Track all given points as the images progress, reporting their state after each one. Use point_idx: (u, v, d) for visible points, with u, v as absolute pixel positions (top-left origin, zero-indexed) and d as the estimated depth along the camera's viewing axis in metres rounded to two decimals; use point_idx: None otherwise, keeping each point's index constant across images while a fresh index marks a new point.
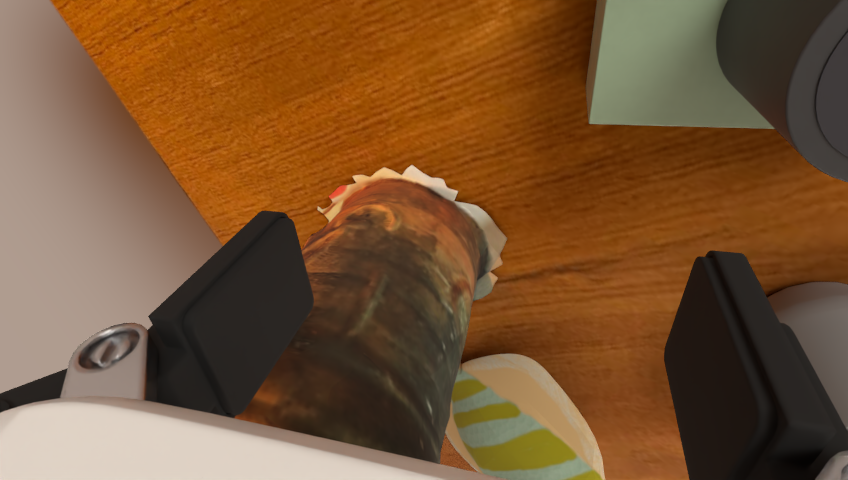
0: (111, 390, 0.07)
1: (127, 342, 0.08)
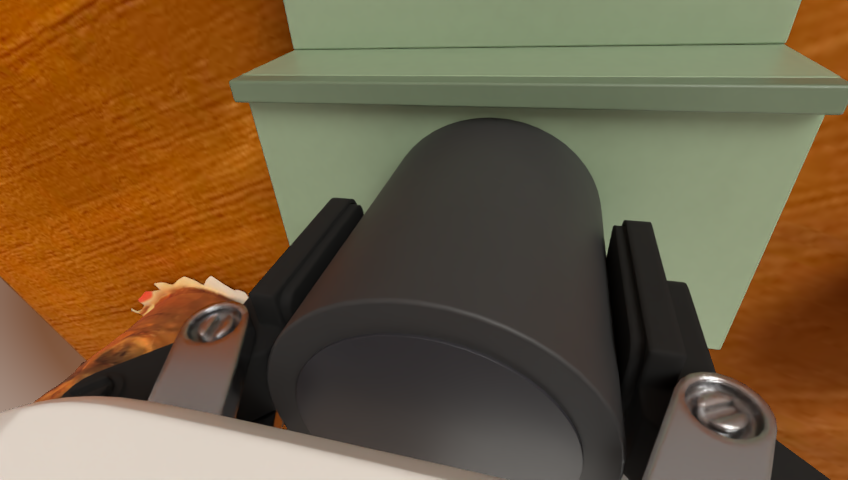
0: (205, 368, 0.07)
1: (230, 321, 0.08)
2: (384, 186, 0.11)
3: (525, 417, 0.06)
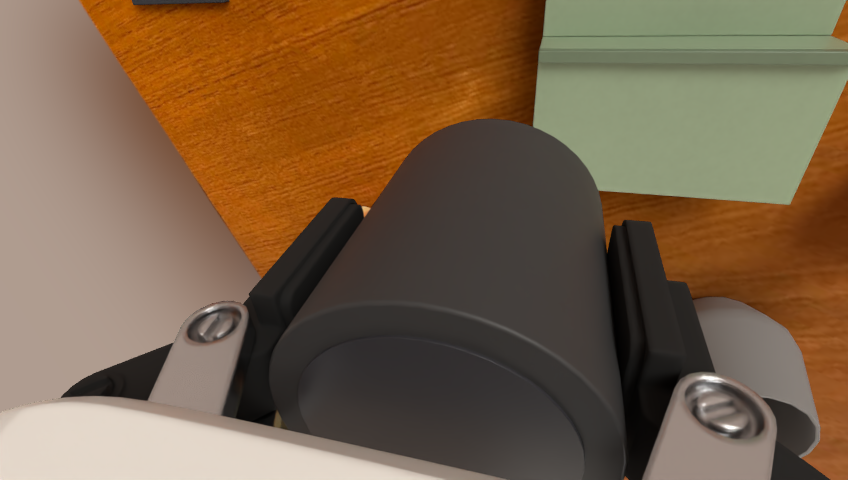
0: (205, 368, 0.07)
1: (230, 321, 0.08)
2: (385, 187, 0.11)
3: (526, 418, 0.06)
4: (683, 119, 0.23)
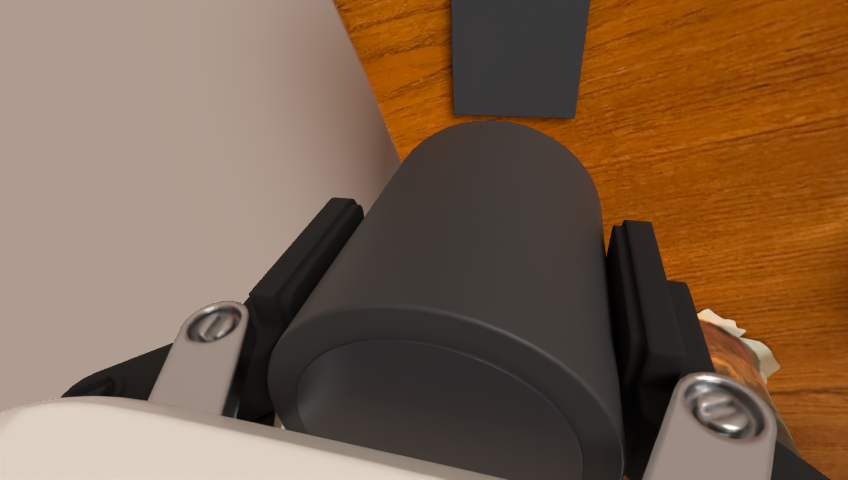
0: (205, 368, 0.07)
1: (230, 321, 0.08)
2: (384, 189, 0.11)
3: (524, 421, 0.06)
4: None
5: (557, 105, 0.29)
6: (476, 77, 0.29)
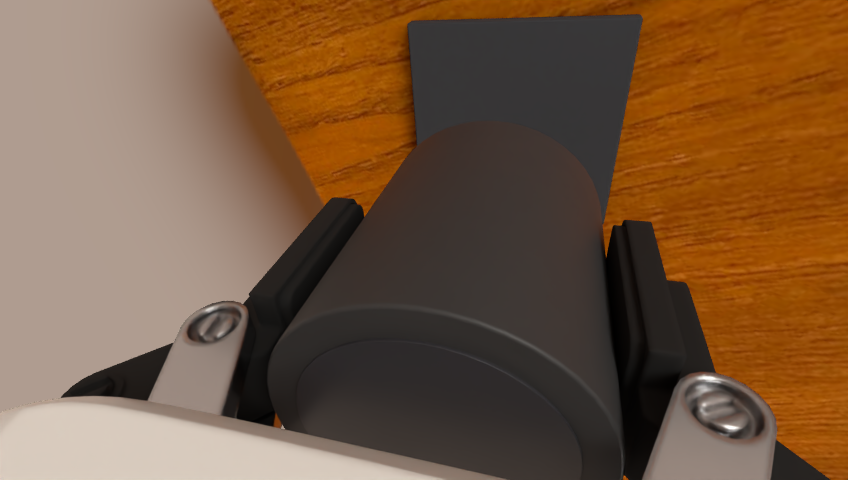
0: (205, 368, 0.07)
1: (230, 321, 0.08)
2: (384, 189, 0.11)
3: (524, 421, 0.06)
4: None
5: None
6: None
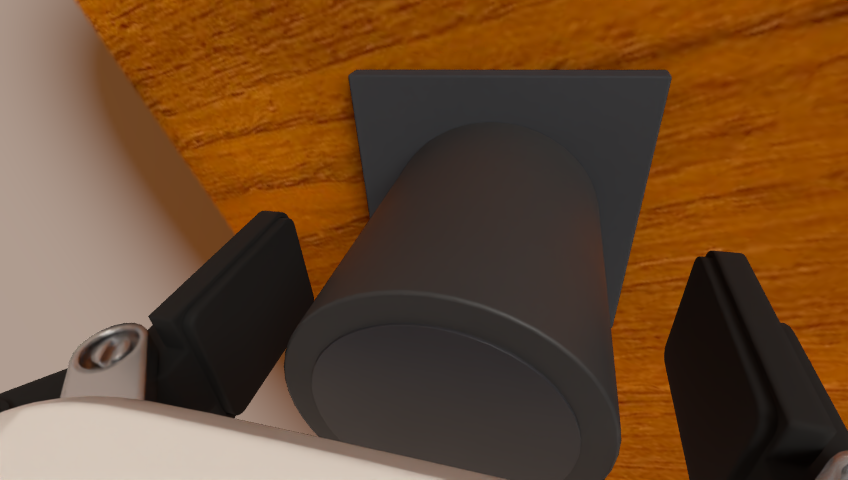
0: (111, 390, 0.07)
1: (127, 342, 0.08)
2: None
3: (526, 401, 0.07)
4: None
5: None
6: None
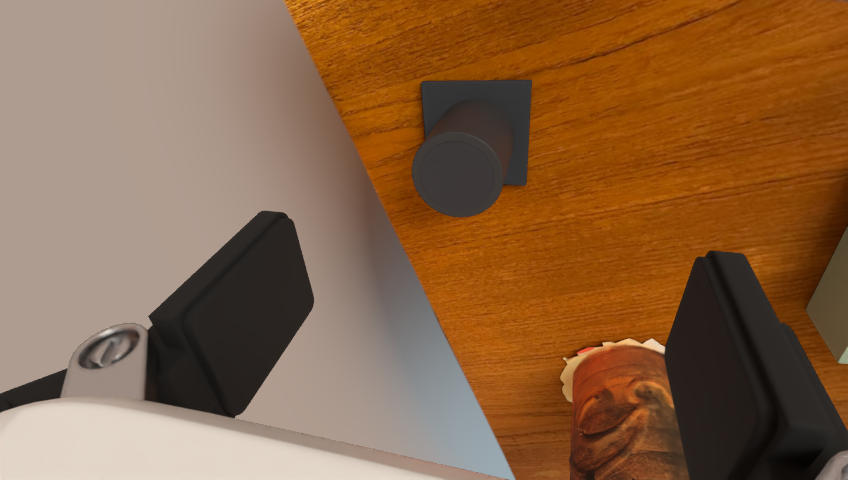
0: (111, 390, 0.07)
1: (127, 342, 0.08)
2: None
3: (478, 162, 0.28)
4: None
5: (511, 175, 0.35)
6: None
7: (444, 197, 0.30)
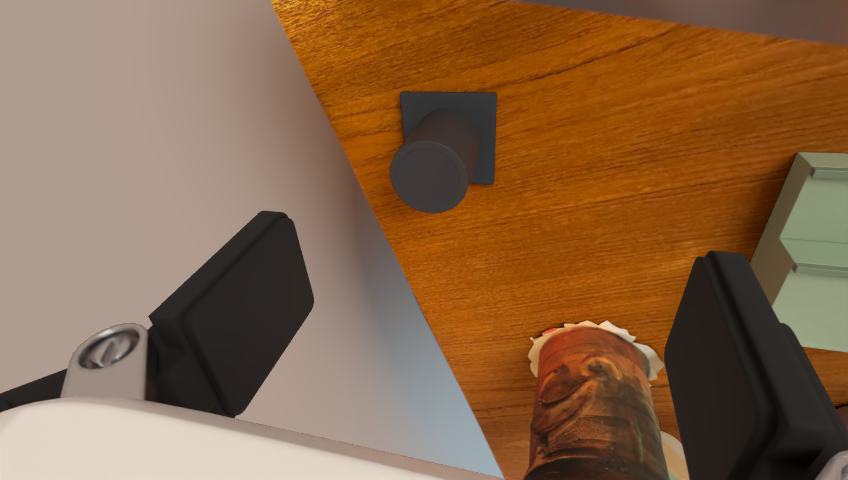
0: (111, 390, 0.07)
1: (127, 342, 0.08)
2: None
3: (446, 166, 0.32)
4: None
5: (480, 175, 0.40)
6: None
7: (418, 195, 0.35)
